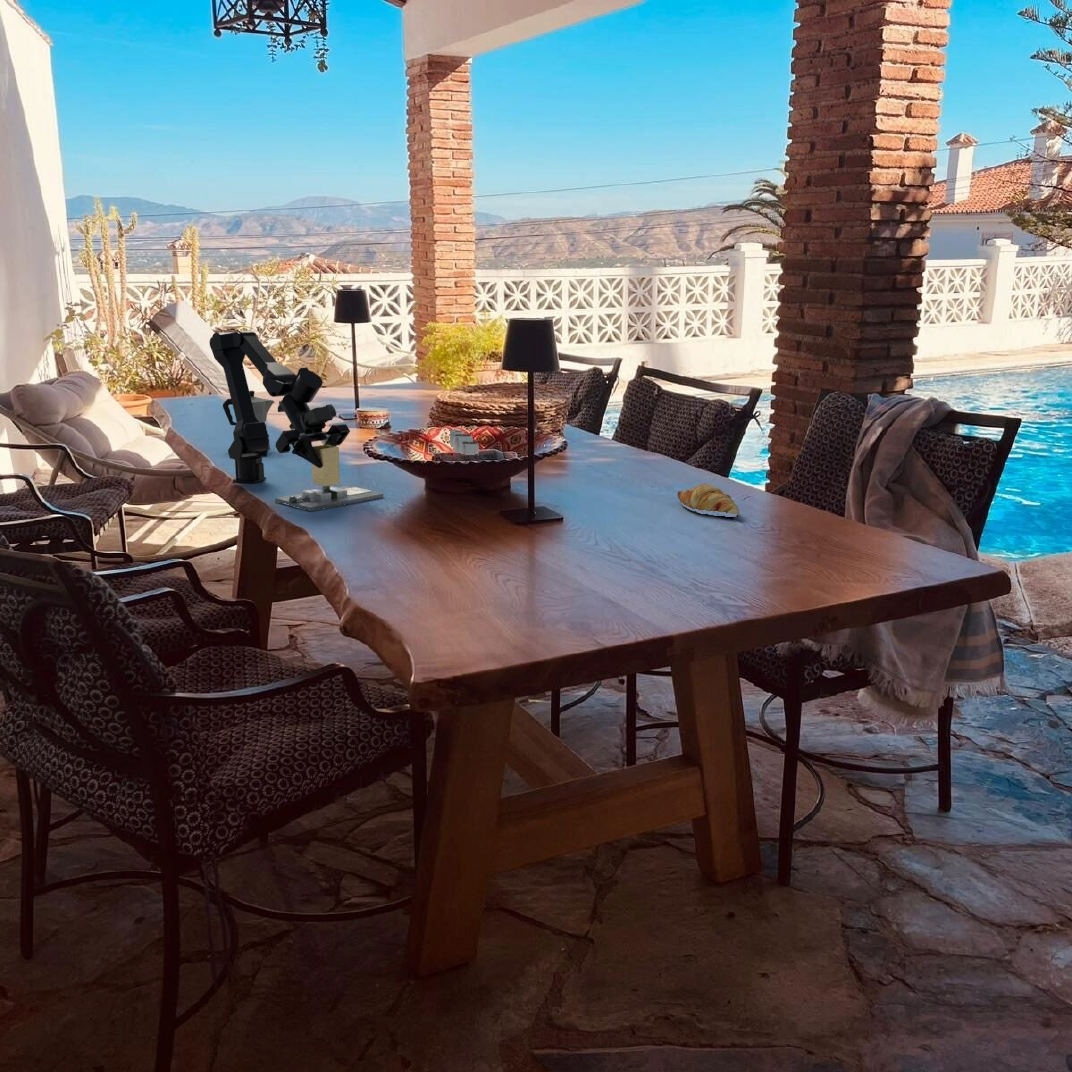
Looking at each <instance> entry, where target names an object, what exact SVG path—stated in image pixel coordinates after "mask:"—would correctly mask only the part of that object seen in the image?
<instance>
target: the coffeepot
mask: <svg viewBox="0 0 1072 1072" xmlns="http://www.w3.org/2000/svg"><path fill="white" fill-rule="evenodd" d="M249 392H250V396H251V400H252V404H253V408H254V412H255V416H256V418H257V419H258V420H259V421H260V422H264V423H265V424H266V422H267V420H268V419H267V416H268V413H269V412H270V409H271V408H272V406H273V404H275V403H276V402H275V401H274V400H272V399H269V398H268V399H267V398H262V397H261V398H260V397H257V396H255V392H256V391H254V390H249ZM230 405H231V406H233V405H232V401H231V398H227V399H226V400H225V401H224V402H223V404H222V409H223V410H224V414H225V416H226V418H227V421H228V422H229V425H230V426H236V423H237V421H236V422H235V421H234V420H233V419H234V418H233V415H232V413H231V409H230V407H229V406H230ZM270 449H271V445H270V443H269V447H268V450H270Z"/></svg>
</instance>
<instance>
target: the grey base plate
mask: <svg viewBox="0 0 1072 1072" xmlns="http://www.w3.org/2000/svg"><path fill="white" fill-rule="evenodd" d="M383 498H384V493H383V492H378V491H374V490H369V489H367V488H362V487H357V486H351V485H348V484H347V485H342V486H337V487H336V486H333V485H329V486H321V489H317V488H314V489H305V490H302V492H301V493H296V494H291V495H285V496H280V497H279V496H278V497H275V498H274V502H275V503H277V502H279V503H278V504H280V503H286V504H289V505H292V506H295V507H299V508H302V509H305V510H304V511H306V510H309V511H308V512H310V511H311V512H315V511H314V510H316V511H320V510H319V509H321V510H324V509H323V508H327V509H330V508H329V507H332V508H335V507H334V506H337V507H340V506H339V505H342V506H345V505H344V504H348V505H351V504H350V503H353V504H358V503H362V502H369V501H372V500H374V501H375V500H378V499H383ZM295 507H294V508H295ZM299 508H298V509H299ZM302 509H301V510H302Z"/></svg>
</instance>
